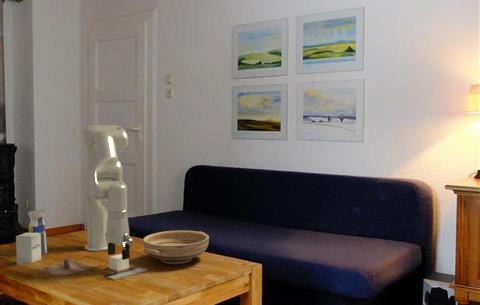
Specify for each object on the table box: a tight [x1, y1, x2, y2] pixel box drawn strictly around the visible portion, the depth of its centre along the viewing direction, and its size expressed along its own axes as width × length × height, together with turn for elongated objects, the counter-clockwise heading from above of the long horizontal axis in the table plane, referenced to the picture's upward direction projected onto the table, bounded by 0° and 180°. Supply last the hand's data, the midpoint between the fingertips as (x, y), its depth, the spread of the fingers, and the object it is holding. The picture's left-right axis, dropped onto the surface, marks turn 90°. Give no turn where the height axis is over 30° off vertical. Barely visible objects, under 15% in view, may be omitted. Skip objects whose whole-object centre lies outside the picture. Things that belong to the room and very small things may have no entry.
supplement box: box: [15, 232, 42, 266], centre depth 218 cm, size 7×7×13 cm
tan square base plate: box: [39, 258, 96, 277], centre depth 205 cm, size 16×16×5 cm
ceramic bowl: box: [142, 230, 210, 265], centre depth 221 cm, size 37×29×10 cm
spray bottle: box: [26, 199, 48, 255], centre depth 235 cm, size 8×9×25 cm
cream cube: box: [108, 253, 130, 273], centre depth 205 cm, size 6×6×6 cm
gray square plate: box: [103, 266, 148, 281], centre depth 205 cm, size 16×16×1 cm
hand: (118, 256), depth 205 cm, fingers open, 9 cm apart
